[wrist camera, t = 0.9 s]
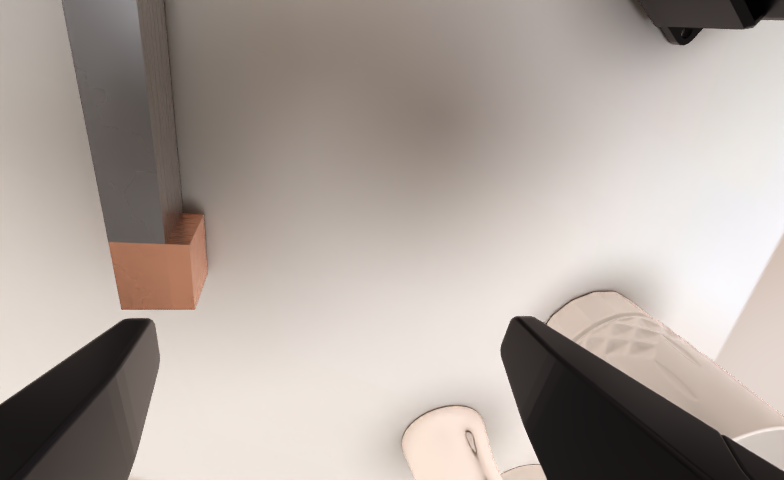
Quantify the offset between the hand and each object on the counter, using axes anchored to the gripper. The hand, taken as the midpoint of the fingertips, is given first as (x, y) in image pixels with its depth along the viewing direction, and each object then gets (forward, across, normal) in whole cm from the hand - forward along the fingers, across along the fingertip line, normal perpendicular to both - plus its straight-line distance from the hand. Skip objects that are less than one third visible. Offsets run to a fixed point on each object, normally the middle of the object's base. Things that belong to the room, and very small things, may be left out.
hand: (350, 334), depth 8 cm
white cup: (+11, -18, +10) cm, 23 cm away
